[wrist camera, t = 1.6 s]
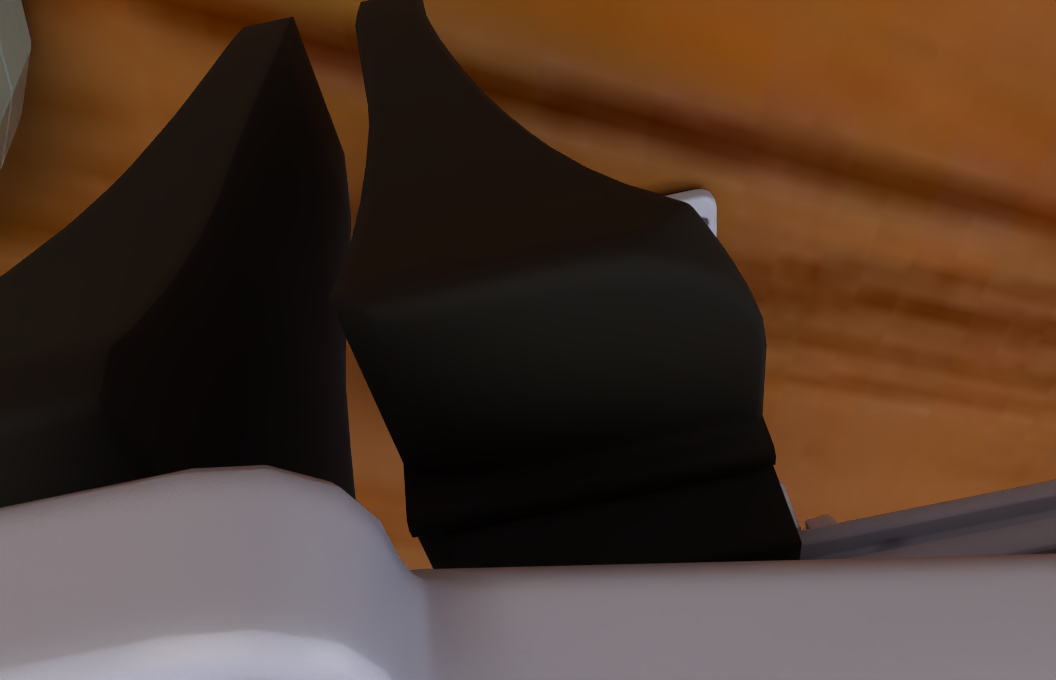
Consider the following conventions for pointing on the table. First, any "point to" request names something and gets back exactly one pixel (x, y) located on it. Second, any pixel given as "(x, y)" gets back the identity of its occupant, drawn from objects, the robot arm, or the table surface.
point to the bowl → (12, 69)
